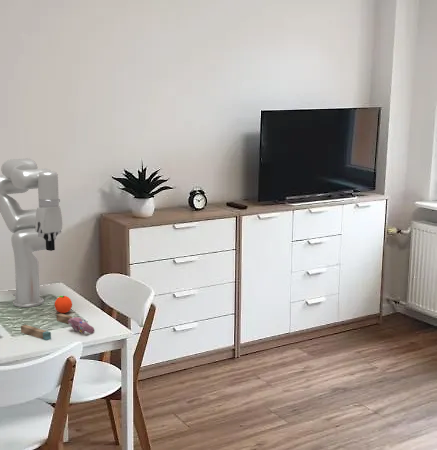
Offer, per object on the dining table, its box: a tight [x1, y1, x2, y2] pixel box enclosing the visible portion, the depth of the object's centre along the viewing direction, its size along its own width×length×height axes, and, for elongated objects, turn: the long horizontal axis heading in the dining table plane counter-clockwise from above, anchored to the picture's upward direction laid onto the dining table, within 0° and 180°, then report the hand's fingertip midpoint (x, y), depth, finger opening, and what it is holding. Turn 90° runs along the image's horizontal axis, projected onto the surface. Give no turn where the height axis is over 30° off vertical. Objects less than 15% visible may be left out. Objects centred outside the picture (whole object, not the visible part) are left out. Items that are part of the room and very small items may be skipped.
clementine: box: [53, 295, 73, 314], centre depth 276 cm, size 8×7×7 cm
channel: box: [20, 312, 87, 341], centre depth 257 cm, size 14×19×2 cm
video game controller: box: [67, 316, 95, 334], centre depth 254 cm, size 10×5×7 cm, turn 50°
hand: (50, 249), depth 267 cm, fingers closed
